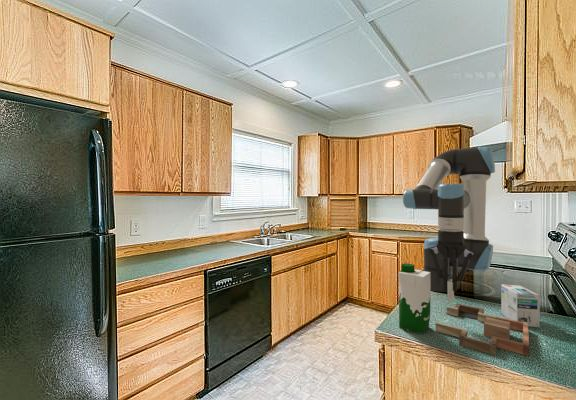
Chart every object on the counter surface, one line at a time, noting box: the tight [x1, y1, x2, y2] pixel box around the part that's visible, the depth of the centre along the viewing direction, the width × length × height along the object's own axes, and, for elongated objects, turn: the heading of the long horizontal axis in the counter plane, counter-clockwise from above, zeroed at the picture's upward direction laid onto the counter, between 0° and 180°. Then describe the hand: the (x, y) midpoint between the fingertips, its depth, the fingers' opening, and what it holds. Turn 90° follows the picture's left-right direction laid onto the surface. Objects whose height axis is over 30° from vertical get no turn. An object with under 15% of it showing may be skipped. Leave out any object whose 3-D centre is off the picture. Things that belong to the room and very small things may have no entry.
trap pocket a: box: [454, 303, 485, 321], centre depth 104 cm, size 5×8×2 cm, turn 51°
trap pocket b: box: [458, 330, 498, 356], centre depth 82 cm, size 5×8×2 cm, turn 51°
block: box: [483, 317, 511, 340], centre depth 89 cm, size 6×6×4 cm
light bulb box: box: [500, 283, 541, 328], centre depth 100 cm, size 11×7×11 cm, turn 168°
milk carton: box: [397, 263, 432, 335], centre depth 94 cm, size 9×9×20 cm
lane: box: [434, 305, 530, 357], centre depth 92 cm, size 18×23×2 cm
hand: (450, 299), depth 98 cm, fingers closed
